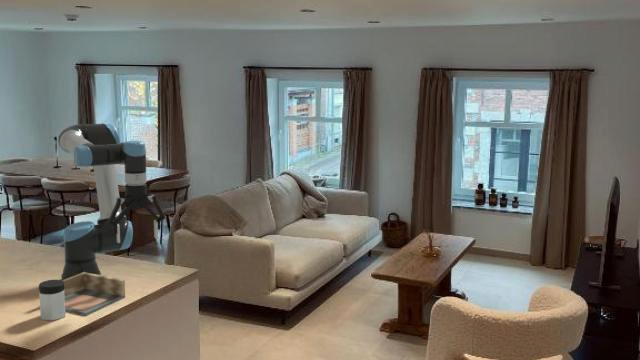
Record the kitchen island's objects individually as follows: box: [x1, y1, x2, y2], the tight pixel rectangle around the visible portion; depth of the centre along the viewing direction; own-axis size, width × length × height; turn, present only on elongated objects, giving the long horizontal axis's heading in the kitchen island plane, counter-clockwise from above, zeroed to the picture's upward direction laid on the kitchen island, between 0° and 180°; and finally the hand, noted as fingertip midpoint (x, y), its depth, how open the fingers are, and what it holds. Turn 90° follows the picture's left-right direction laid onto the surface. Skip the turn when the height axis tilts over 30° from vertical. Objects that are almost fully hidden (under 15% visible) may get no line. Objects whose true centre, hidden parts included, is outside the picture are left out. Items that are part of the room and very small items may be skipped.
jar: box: [38, 279, 67, 321], centre depth 220 cm, size 9×8×12 cm
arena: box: [62, 272, 126, 317], centre depth 234 cm, size 20×20×7 cm
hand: (137, 240), depth 234 cm, fingers open, 13 cm apart
